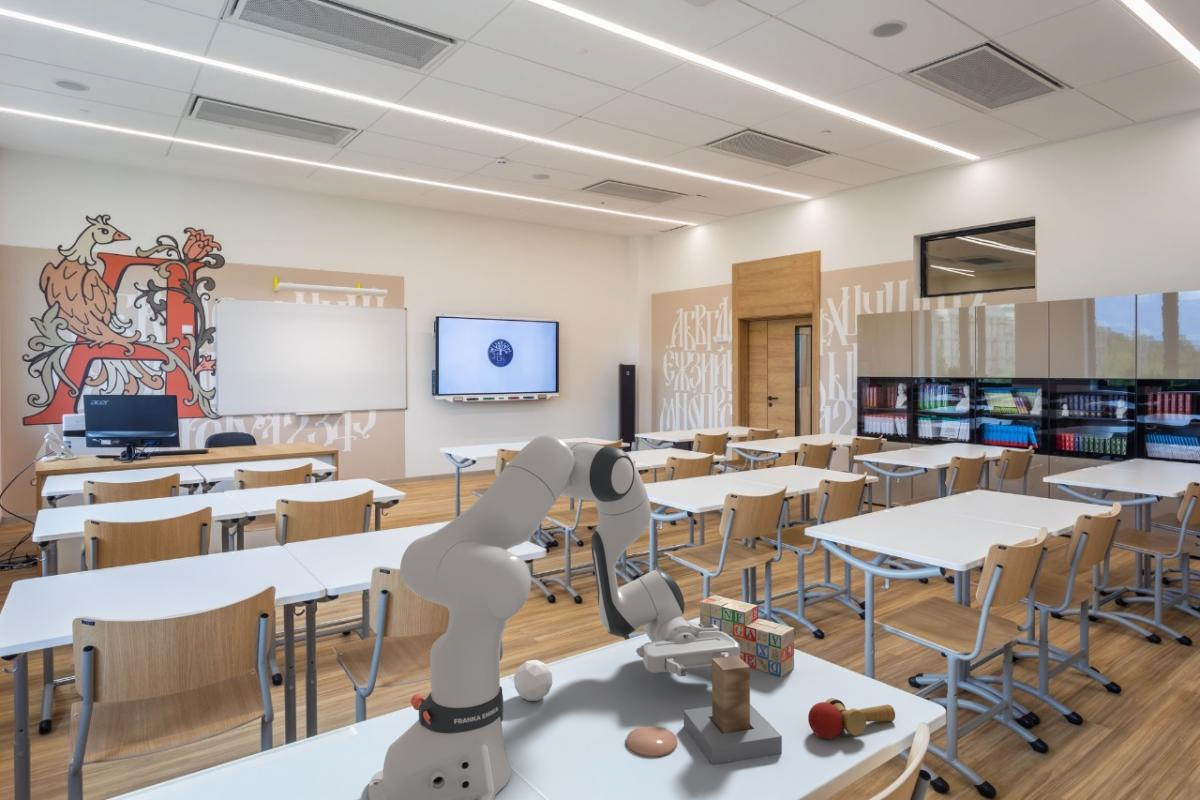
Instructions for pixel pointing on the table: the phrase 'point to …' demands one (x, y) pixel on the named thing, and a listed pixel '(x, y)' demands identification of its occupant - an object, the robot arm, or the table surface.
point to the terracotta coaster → (651, 741)
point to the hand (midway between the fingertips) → (705, 669)
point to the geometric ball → (533, 680)
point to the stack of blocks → (752, 634)
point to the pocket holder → (732, 737)
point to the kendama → (845, 718)
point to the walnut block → (730, 694)
